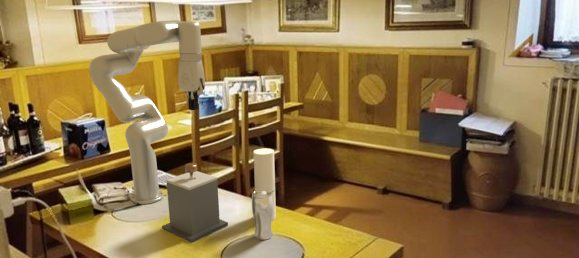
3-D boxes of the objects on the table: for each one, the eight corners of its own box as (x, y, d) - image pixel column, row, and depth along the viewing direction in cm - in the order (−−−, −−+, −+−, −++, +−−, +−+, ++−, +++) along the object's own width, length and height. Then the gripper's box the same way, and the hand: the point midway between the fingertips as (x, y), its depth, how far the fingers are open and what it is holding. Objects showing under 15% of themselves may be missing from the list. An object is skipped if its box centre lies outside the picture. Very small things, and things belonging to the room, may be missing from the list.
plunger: (175, 212, 163) (171, 165, 159) (196, 203, 170) (192, 158, 166) (192, 219, 158) (188, 171, 153) (213, 210, 164) (210, 164, 160)
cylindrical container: (276, 213, 175) (275, 148, 169) (274, 222, 168) (272, 154, 162) (257, 213, 176) (255, 148, 170) (254, 221, 169) (251, 154, 163)
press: (162, 229, 164) (157, 180, 160) (200, 212, 177) (197, 166, 173) (191, 242, 155) (187, 191, 150) (230, 224, 167) (228, 176, 163)
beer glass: (258, 242, 154) (256, 199, 150) (249, 233, 160) (248, 192, 156) (277, 237, 157) (276, 195, 153) (268, 229, 163) (267, 188, 159)
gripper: (169, 57, 167) (172, 108, 172) (195, 60, 158) (198, 114, 162) (186, 55, 173) (189, 105, 178) (213, 58, 163) (215, 110, 168)
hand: (193, 109), depth 170 cm, fingers closed
